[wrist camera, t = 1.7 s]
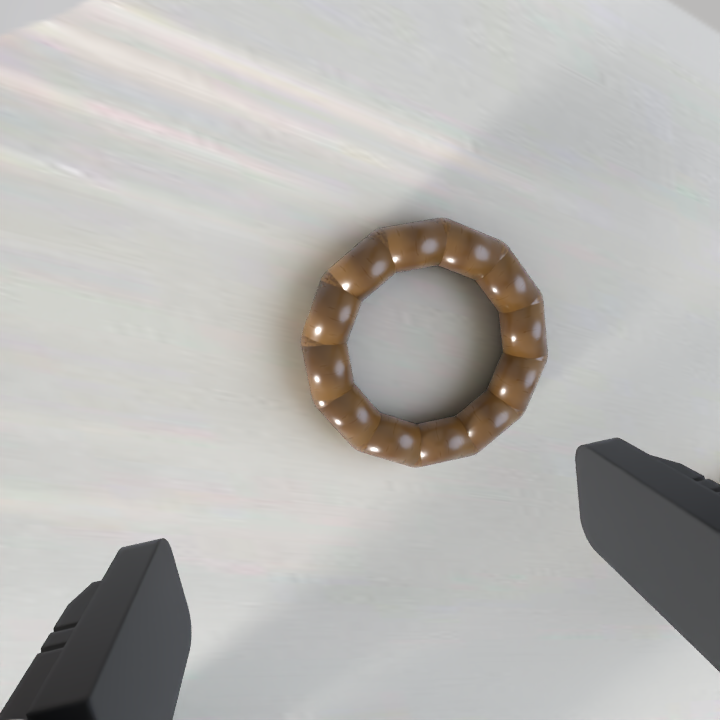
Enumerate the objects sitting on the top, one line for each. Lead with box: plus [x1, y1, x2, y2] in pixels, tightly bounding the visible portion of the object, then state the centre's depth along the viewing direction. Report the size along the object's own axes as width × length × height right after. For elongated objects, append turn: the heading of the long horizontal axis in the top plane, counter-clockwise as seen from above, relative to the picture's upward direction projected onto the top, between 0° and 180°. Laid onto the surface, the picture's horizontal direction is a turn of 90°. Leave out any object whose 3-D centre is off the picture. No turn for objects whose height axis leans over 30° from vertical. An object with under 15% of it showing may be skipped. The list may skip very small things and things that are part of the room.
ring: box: [301, 218, 548, 467], centre depth 24 cm, size 11×11×2 cm
